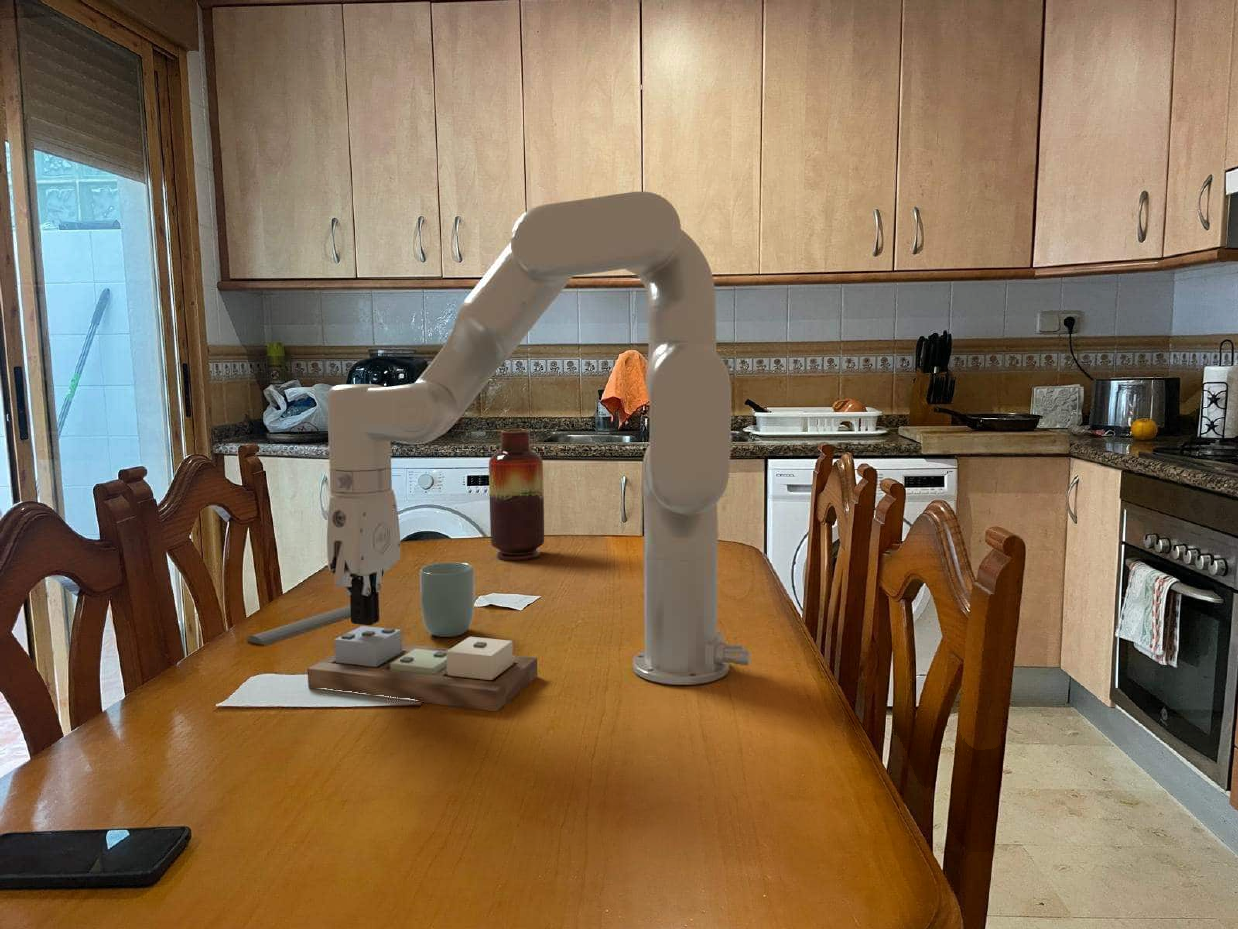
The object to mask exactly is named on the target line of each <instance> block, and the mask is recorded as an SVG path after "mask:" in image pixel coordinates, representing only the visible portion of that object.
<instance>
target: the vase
mask: <svg viewBox="0 0 1238 929" xmlns="http://www.w3.org/2000/svg"><path fill="white" fill-rule="evenodd" d="M530 437H531V436H530V430H529V429H524V428H523V429H519V428H517V429H516V428H515V429H514V428H513V429H502V430H501V431H500V450H499V451H498V452H495V453H494V454H493V455H492V456H491V457H490V459H489V461H488V483H489V484H488V487H489V488H488V490H489V491H488V492H489V521H490V522H489V523H490V528H489V529H490V543H491V546H492V547H493V548H495V549H497V550H498V551H497V552H496V554H495V558H496V559H499V560H503V561H512V562H513V561H514V562H516V561H517V562H518V561H529V560H533V559H536V558H539V557H540V556H541V555H540V554H541V553H540V551H539V550H538V548H540V547H541V546H542V545H544V543H545V508H544V507H545V505H544V504H545V502H544V500H545V499H544V495H545V494H544V463H543V462H544V461H543V459H542V457H541V455H539V453H537V452H535V451H534V450H532V449H531V440H530Z"/></svg>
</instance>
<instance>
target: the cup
mask: <svg viewBox="0 0 1238 929" xmlns="http://www.w3.org/2000/svg"><path fill="white" fill-rule="evenodd" d="M419 588H420V589H419V591H420V592H419V594H420V607H421V609H420V610H421V615H422V621H423V625H424V627H425V628H426V630H427V632H428V633H429V634H431V635H432V636H436V637H438V638H439V637H440V638H452V637H453V638H454V637H458V636H460V635H463V634H465V633H466V632H467V631H468V630H469V628H470V626H472V622H473V618H474V613H475V612H474V610H475V574H474V567H473V565H472V564H470V563H466V562H457V561H456V562H454V561H452V562H451V561H450V562H448V561H447V562H446V561H445V562H436V563H431V564H428V565H425V566H423V567H421V568H420V570H419Z"/></svg>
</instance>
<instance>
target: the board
mask: <svg viewBox="0 0 1238 929" xmlns="http://www.w3.org/2000/svg"><path fill="white" fill-rule="evenodd" d="M414 649H424V650H433V651H443V652H447V651H448V650H449V649H450V648H448V647H447V648H446V647H437V646H427V645H418V644H410V643H402V652H401V653H399V654H398V655H396V656H394V657H393V658H391V659H389V660H387V661H386V662H384V663H382V664H380V665H379V666H378V668H377V667H369V666H361V665H355V664H347V663H338V662H336V661H335V653H333V655H330V656H329V657H327V658H324V659H323V660H320V661H319V662H317V663H315V664H313V665H312V666H311V665H310V667H307V669H306V670H307V687H310V689H315V688H327V689H333V690H342V691H352V692H358V693H366V694H370V695H384V696H389V697H390V696H391V697H396V698H397V697H398V698H410V699H415V700H418V701H420V702H419V703H426V704H428V703H429V704H433V705H435V704H436V705H442V706H450V707H457V708H466V709H473V710H482V711H490V712H498V710H501V708H502V707H504V706H505V705H506V704H507V703H509V701H511V700H512V699H513V698H514V697H516V696H517V695H518V694H519V693H520V692H521V691H523V690H524V689H525V688H526V687H527V686H529V684H531V683H532V682H533V681H534V680H535V679H536V678H538V657H532V656H522V655H514V654H513V664H512V665H511V666H510V667H508V668H507V669H506V670H504V671H503V672H502V673H501V674H499V675H498V676H497V677H495V678H494V679H493V680H495V681H490V680H488V681H487V680H481V679H479V680H477V679H472V678H468V677H460V676H451V675H447V667H446V668H444V669H443V670H441V671H440V672H438V673H437V674H435V675H428V674H420V673H411V672H402V671H394V670H390V663H392V662H393V661H395V660H397V659H398V658H400V657H402V656H404V655H405V654H407V653H409V652H410V651H412V650H414ZM370 695H369V696H370Z"/></svg>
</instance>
